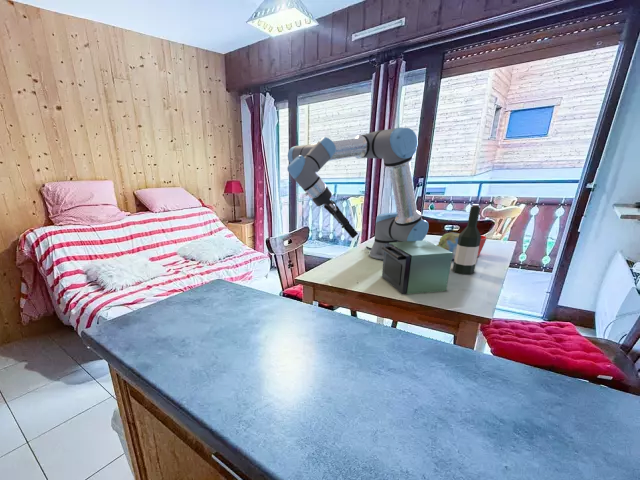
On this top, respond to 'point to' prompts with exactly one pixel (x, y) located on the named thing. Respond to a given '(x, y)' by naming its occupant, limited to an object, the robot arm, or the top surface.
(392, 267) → the oven door
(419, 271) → the oven
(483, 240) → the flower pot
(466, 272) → the wine bottle
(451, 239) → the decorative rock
